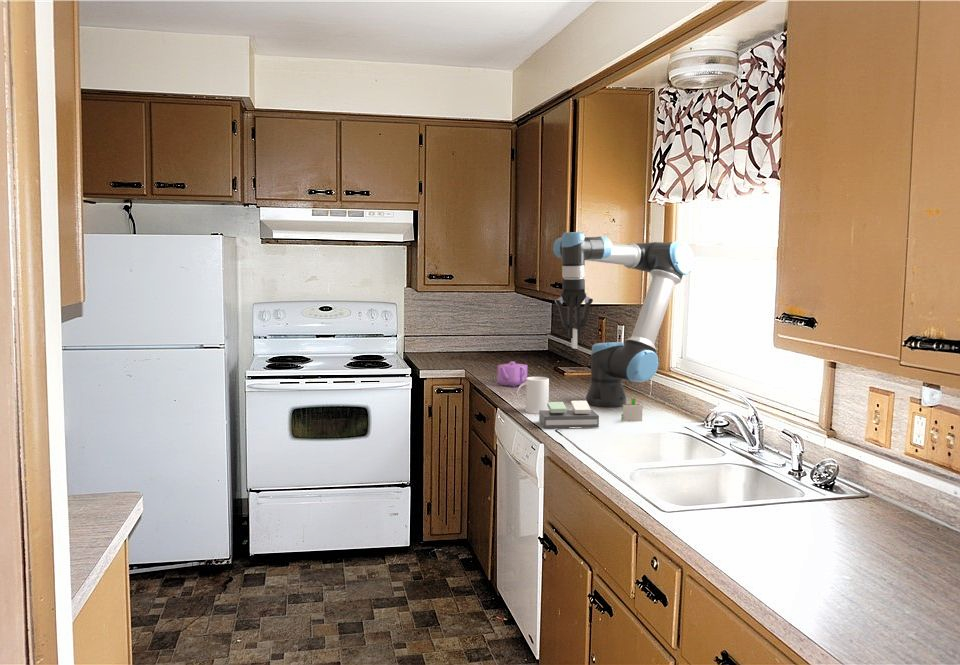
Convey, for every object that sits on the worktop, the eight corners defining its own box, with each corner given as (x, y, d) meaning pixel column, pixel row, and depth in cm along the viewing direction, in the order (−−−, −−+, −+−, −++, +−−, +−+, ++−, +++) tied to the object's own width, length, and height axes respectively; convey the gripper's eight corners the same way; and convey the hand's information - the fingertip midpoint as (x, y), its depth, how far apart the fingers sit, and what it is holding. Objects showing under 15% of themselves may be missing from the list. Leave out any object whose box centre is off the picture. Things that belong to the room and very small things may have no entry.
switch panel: (591, 421, 274) (591, 406, 274) (598, 427, 264) (599, 413, 264) (539, 421, 272) (539, 407, 272) (544, 428, 262) (544, 413, 262)
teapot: (512, 390, 331) (512, 365, 330) (484, 386, 339) (484, 362, 338) (535, 384, 346) (535, 360, 345) (508, 380, 354) (508, 357, 353)
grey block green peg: (618, 420, 278) (619, 397, 277) (637, 419, 279) (638, 396, 278) (623, 422, 274) (623, 399, 273) (642, 422, 275) (642, 398, 274)
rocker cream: (586, 404, 272) (586, 400, 271) (590, 413, 265) (590, 409, 265) (570, 404, 271) (571, 400, 271) (575, 413, 265) (575, 409, 264)
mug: (518, 414, 285) (518, 380, 283) (514, 409, 293) (515, 376, 292) (551, 413, 286) (551, 380, 284) (546, 408, 294) (547, 376, 293)
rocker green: (562, 405, 271) (562, 401, 271) (566, 412, 264) (566, 408, 264) (547, 406, 271) (547, 402, 270) (550, 412, 264) (551, 408, 263)
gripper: (589, 276, 276) (590, 345, 279) (552, 278, 274) (553, 347, 277) (595, 278, 268) (596, 348, 272) (556, 279, 267) (557, 350, 270)
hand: (574, 347), depth 275 cm, fingers closed
